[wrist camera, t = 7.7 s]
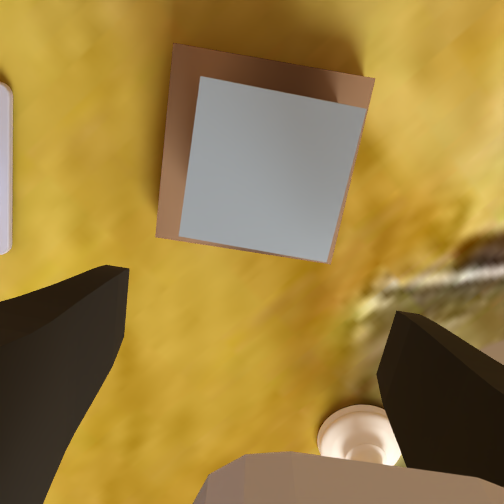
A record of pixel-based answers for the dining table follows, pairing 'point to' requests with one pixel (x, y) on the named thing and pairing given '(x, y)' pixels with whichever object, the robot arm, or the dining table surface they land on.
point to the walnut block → (249, 73)
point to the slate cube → (268, 169)
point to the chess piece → (359, 436)
